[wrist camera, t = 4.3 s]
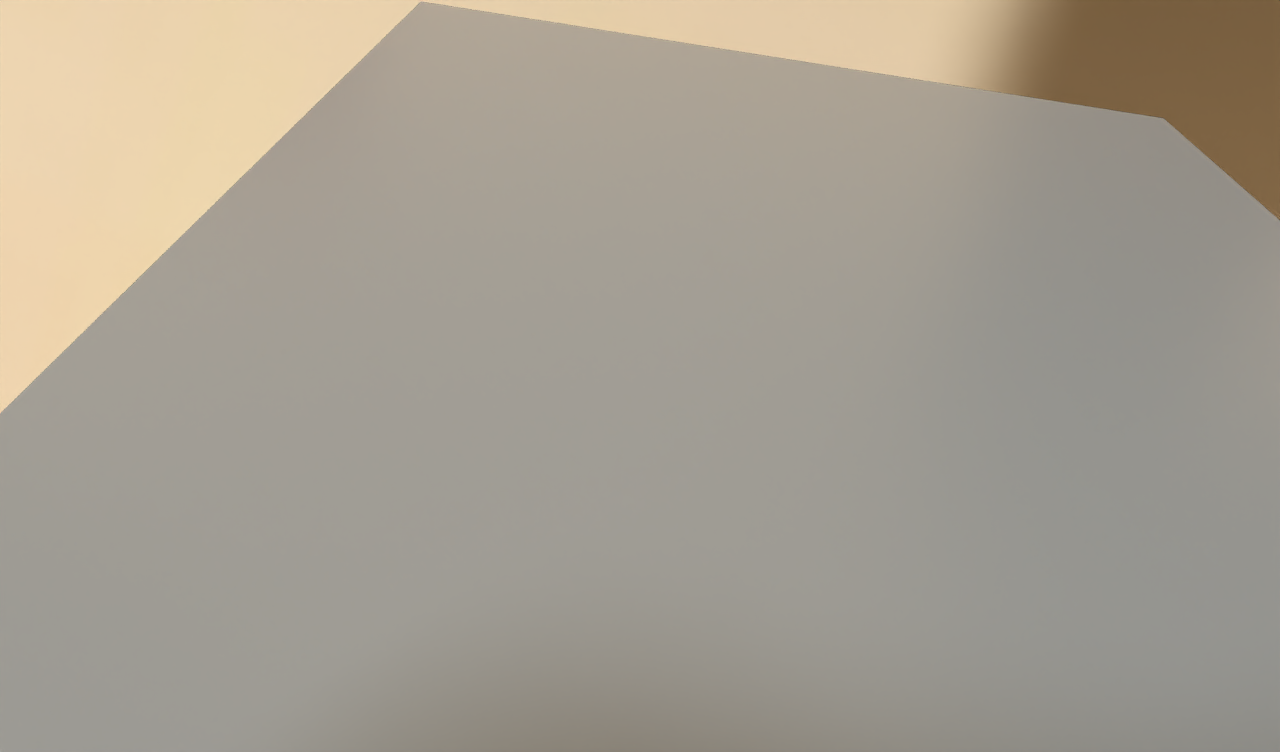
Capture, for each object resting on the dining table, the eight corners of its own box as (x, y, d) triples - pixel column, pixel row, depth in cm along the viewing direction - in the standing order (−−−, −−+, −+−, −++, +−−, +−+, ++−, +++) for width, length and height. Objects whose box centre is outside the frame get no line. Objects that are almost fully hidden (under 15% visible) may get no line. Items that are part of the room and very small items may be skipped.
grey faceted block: (1163, 118, 9) (2828, 1573, 2) (918, 588, 14) (1139, 1508, 7) (420, 2, 9) (-779, 1174, 2) (432, 521, 13) (128, 1401, 6)
